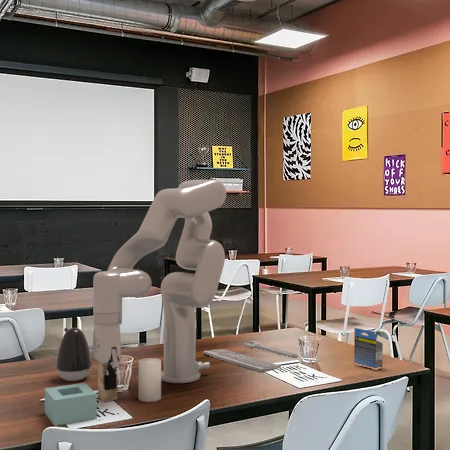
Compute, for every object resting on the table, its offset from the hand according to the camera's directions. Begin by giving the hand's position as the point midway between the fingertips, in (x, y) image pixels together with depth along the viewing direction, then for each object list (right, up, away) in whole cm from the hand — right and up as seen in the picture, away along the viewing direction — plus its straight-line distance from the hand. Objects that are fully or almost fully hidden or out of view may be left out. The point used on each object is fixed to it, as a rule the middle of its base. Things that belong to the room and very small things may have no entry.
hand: (107, 386), depth 152 cm
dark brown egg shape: (-14, -3, +18) cm, 22 cm away
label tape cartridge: (+78, -3, +34) cm, 85 cm away
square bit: (0, -3, 0) cm, 3 cm away
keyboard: (+37, -3, +40) cm, 55 cm away
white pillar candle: (+11, -3, +1) cm, 12 cm away
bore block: (-6, -4, -13) cm, 15 cm away
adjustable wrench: (+47, -3, +53) cm, 71 cm away
